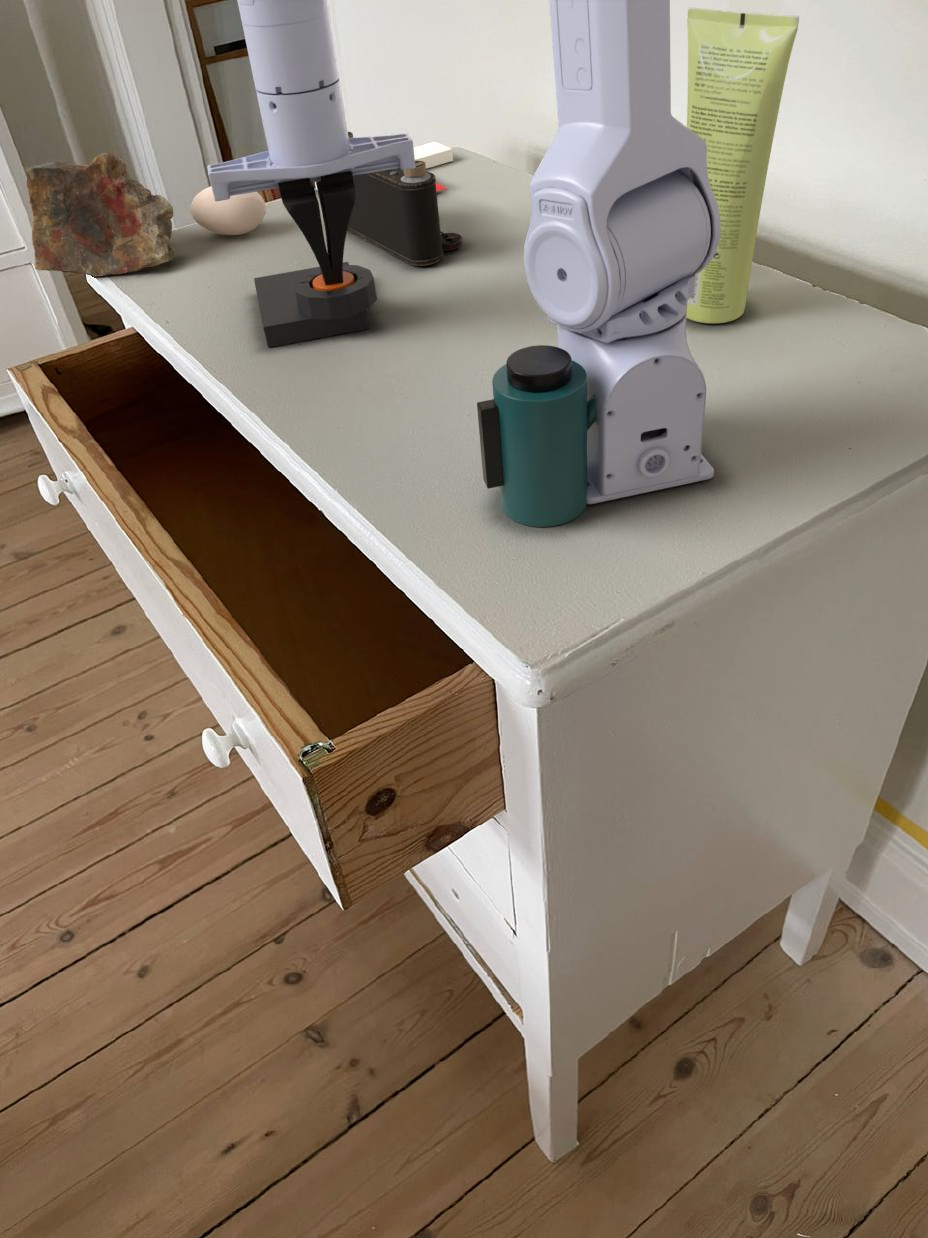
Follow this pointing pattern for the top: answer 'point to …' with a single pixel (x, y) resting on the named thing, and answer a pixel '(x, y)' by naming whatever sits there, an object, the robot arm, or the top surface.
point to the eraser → (433, 154)
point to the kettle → (538, 436)
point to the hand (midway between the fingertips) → (332, 279)
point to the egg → (228, 212)
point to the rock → (97, 219)
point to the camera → (401, 214)
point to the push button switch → (313, 305)
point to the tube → (734, 138)
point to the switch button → (320, 285)
